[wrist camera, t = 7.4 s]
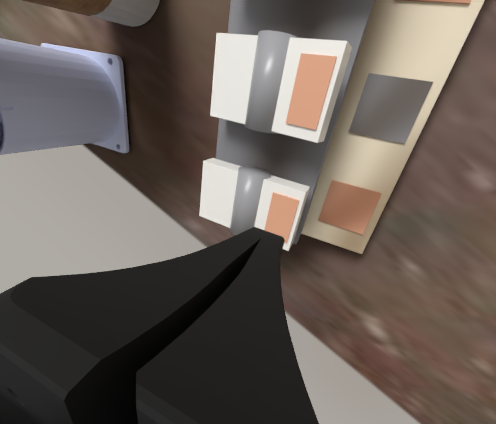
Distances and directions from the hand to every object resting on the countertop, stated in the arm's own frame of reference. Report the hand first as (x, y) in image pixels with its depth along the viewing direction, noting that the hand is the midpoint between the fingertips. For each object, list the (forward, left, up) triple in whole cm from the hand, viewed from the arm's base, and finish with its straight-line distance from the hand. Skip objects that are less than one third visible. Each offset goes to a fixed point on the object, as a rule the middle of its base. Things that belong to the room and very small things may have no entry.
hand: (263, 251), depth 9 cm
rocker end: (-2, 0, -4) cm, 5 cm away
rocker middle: (-2, +6, -4) cm, 8 cm away
